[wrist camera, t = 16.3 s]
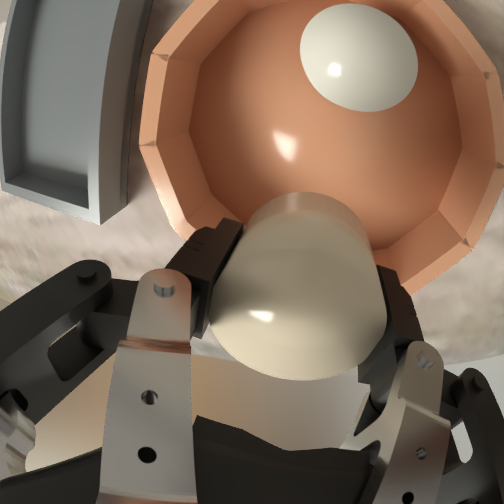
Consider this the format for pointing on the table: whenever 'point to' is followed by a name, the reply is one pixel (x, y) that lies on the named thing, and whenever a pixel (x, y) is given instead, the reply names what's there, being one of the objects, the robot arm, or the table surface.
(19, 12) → the tray
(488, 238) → the table surface
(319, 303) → the pebble
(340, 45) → the pebble
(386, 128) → the bowl
